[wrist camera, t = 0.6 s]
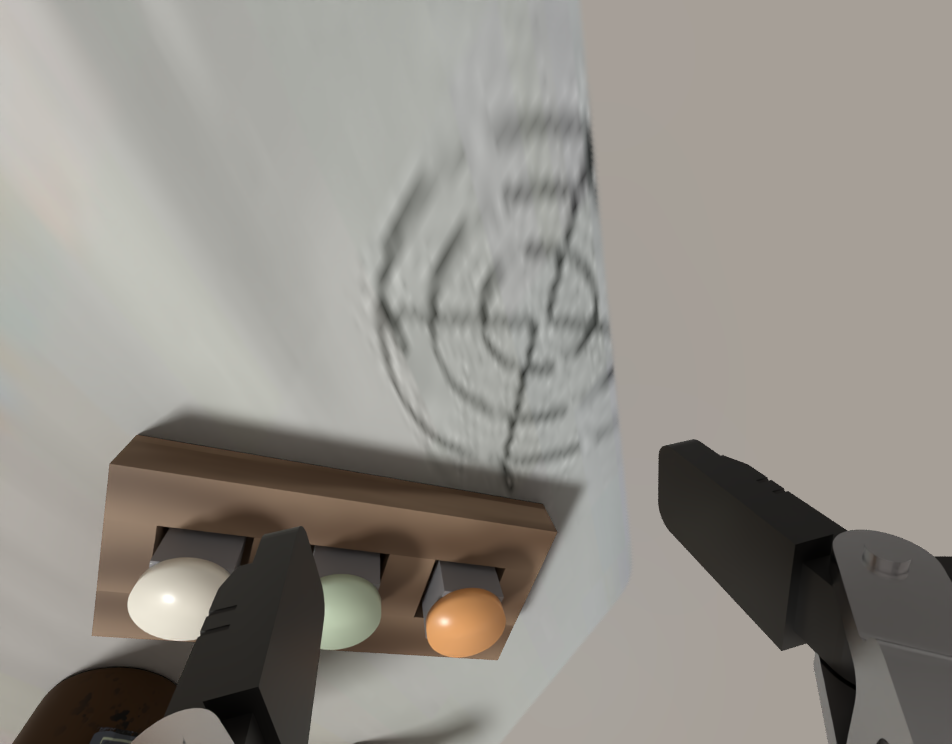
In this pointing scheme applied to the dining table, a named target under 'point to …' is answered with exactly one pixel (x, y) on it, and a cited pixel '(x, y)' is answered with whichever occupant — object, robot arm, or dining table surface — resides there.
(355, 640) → the button sage
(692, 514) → the robot arm
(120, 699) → the olive oil
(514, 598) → the console
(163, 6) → the dining table surface
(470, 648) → the button orange
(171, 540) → the button cream
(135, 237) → the dining table surface
